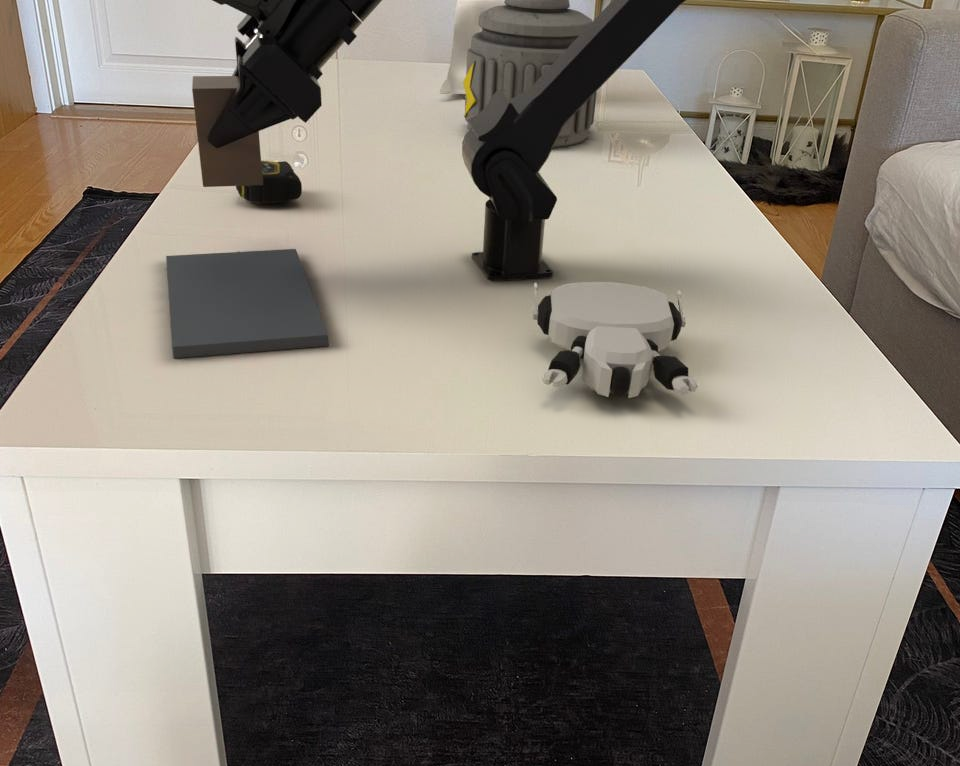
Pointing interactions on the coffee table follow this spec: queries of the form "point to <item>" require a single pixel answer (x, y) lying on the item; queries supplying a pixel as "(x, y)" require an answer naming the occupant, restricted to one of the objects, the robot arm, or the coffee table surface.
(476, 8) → the sculptural mask
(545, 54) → the grey ribbed canister
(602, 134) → the coffee table surface
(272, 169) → the tape measure
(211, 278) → the grey mat
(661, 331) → the robot toy
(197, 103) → the walnut block
